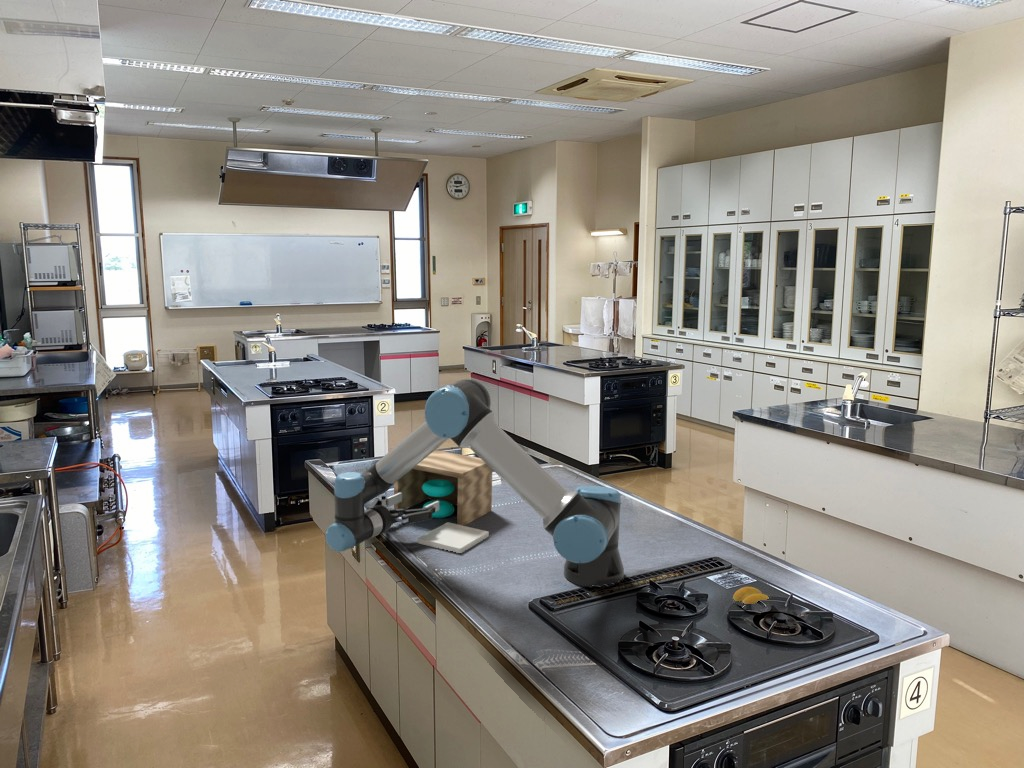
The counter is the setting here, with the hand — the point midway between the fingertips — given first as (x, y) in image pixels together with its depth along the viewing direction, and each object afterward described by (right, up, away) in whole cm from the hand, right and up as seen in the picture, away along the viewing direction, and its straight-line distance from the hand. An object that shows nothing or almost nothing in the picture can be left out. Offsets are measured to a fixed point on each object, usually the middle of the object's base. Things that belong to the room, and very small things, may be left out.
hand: (419, 501), depth 221 cm
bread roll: (+84, -18, -46) cm, 98 cm away
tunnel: (+6, -5, +12) cm, 14 cm away
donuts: (+5, -6, +10) cm, 12 cm away
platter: (+11, -9, -11) cm, 18 cm away
